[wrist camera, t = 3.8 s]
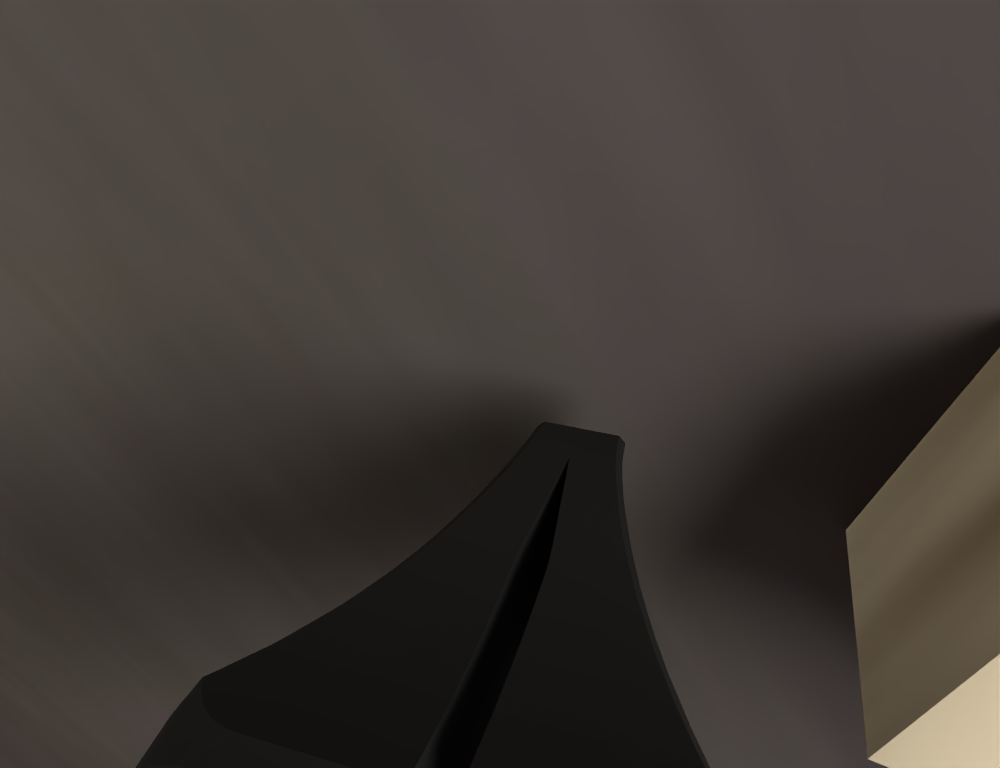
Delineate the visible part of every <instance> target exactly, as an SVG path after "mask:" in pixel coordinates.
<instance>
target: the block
mask: <svg viewBox="0 0 1000 768" xmlns="http://www.w3.org/2000/svg"><path fill="white" fill-rule="evenodd" d="M846 538H847V549H848V559H849V569H850V580H851V590H852V601H853V611H854V621H855V632H856V642H857V652H858V663H859V673H860V683H861V694H862V704H863V714H864V725H865V735H866V746H867V756H868V759H869V760H872V761H874V762H877V763H879V764H882V765H884V766H886V767H889V768H1000V348H999V349H998V350H997V351H996V352H995V354H994V355H993V356H992V357H991V358H990V359H989V361H988V362H987V363H986V364H985V365H984V367H983V368H982V369H981V370H980V371H979V373H978V374H977V375H976V376H975V377H974V378H973V380H972V381H971V382H970V383H969V384H968V386H967V387H966V388H965V389H964V390H963V392H962V393H961V394H960V395H959V396H958V397H957V399H956V400H955V401H954V402H953V403H952V405H951V406H950V407H949V408H948V409H947V411H946V412H945V413H944V414H943V415H942V416H941V418H940V419H939V420H938V421H937V422H936V424H935V425H934V426H933V427H932V428H931V430H930V431H929V432H928V433H927V434H926V435H925V437H924V438H923V439H922V440H921V441H920V443H919V444H918V445H917V446H916V447H915V449H914V450H913V451H912V452H911V453H910V454H909V456H908V457H907V458H906V459H905V460H904V462H903V463H902V464H901V465H900V466H899V468H898V469H897V470H896V471H895V472H894V473H893V475H892V476H891V477H890V478H889V479H888V481H887V482H886V483H885V484H884V485H883V487H882V488H881V489H880V490H879V491H878V492H877V494H876V495H875V496H874V497H873V498H872V500H871V501H870V502H869V503H868V504H867V506H866V507H865V508H864V509H863V510H862V511H861V513H860V514H859V515H858V516H857V517H856V519H855V520H854V521H853V522H852V523H851V525H850V526H849V527H848V528H847V529H846Z"/></svg>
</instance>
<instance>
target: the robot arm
mask: <svg viewBox="0 0 1000 768" xmlns="http://www.w3.org/2000/svg"><path fill="white" fill-rule="evenodd" d="M624 447H625V443H624V441H623V440H622V439H621V438H620V436H616V435H611V434H606V433H601V432H595V431H590V430H585V429H580V428H575V427H569V426H564V425H559V424H554V423H549V422H544V423H542V424H540V425H539V426H538V427H537V428H536V429H535V431H534V432H533V433H532V435H531V436H530V437H529V439H528V440H527V441H526V443H525V444H524V445H523V446H522V448H521V449H520V450H519V451H518V452H517V454H516V455H515V456H514V457H513V458H512V459H511V461H510V462H509V463H508V464H507V465H506V466H505V467H504V469H503V470H502V471H501V472H500V473H499V474H498V475H497V476H496V477H495V478H494V479H493V480H492V481H491V483H490V484H489V485H488V486H487V487H486V488H485V489H484V490H483V491H482V492H481V493H480V494H479V495H478V496H477V497H476V498H475V499H474V500H473V501H472V502H471V503H470V504H469V505H468V506H467V507H466V508H465V509H464V510H463V511H462V512H461V513H460V514H458V515H457V516H456V517H455V518H454V519H453V520H452V521H451V522H450V523H449V524H448V525H446V526H445V527H444V528H443V529H442V530H441V531H440V532H439V533H438V534H437V535H435V536H434V537H433V538H432V539H431V540H430V541H428V542H427V543H426V544H425V545H424V546H422V547H421V548H420V549H419V550H418V551H416V552H415V553H414V554H413V555H411V556H410V557H409V558H407V559H406V560H405V561H403V562H402V563H401V564H400V565H398V566H397V567H396V568H394V569H393V570H392V571H390V572H389V573H388V574H386V575H385V576H383V577H382V578H380V579H379V580H377V581H376V582H375V583H373V584H372V585H370V586H369V587H367V588H366V589H365V590H363V591H362V592H360V593H359V594H357V595H356V596H354V597H353V598H351V599H350V600H348V601H347V602H345V603H343V604H342V605H340V606H339V607H337V608H335V609H334V610H332V611H330V612H328V613H327V614H325V615H323V616H322V617H320V618H318V619H316V620H315V621H313V622H311V623H309V624H308V625H306V626H304V627H302V628H301V629H299V630H297V631H295V632H294V633H292V634H290V635H289V636H287V637H285V638H283V639H281V640H279V641H277V642H275V643H274V644H272V645H270V646H268V647H266V648H263V649H261V650H259V651H257V652H255V653H253V654H251V655H249V656H247V657H245V658H243V659H241V660H238V661H236V662H234V663H232V664H230V665H228V666H226V667H224V668H222V669H220V670H218V671H215V672H213V673H211V674H209V675H206V676H204V677H202V678H201V680H200V681H199V682H198V683H197V685H196V686H195V687H194V688H193V690H192V691H191V692H190V693H189V695H188V696H187V697H186V698H185V699H184V700H183V701H182V702H181V704H180V705H179V706H178V707H177V709H176V710H175V711H174V713H173V714H172V715H171V716H170V718H169V719H168V721H167V722H166V723H165V725H164V726H163V728H162V729H161V731H160V732H159V734H158V735H157V737H156V738H155V740H154V741H153V743H152V744H151V746H150V747H149V749H148V750H147V752H146V753H145V755H144V756H143V758H142V759H141V761H140V762H139V764H138V765H137V767H136V768H710V767H709V765H708V762H707V760H706V758H705V756H704V754H703V752H702V750H701V748H700V746H699V744H698V742H697V739H696V737H695V735H694V733H693V731H692V729H691V727H690V724H689V722H688V720H687V717H686V715H685V712H684V710H683V708H682V705H681V703H680V700H679V698H678V696H677V693H676V691H675V689H674V686H673V684H672V681H671V679H670V677H669V674H668V672H667V669H666V667H665V664H664V661H663V658H662V655H661V653H660V650H659V647H658V644H657V641H656V639H655V635H654V632H653V629H652V626H651V623H650V620H649V617H648V614H647V610H646V607H645V603H644V600H643V596H642V592H641V589H640V585H639V581H638V576H637V572H636V568H635V564H634V560H633V555H632V550H631V545H630V539H629V533H628V527H627V521H626V515H625V507H624V498H623V484H622V460H623V454H624Z"/></svg>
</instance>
